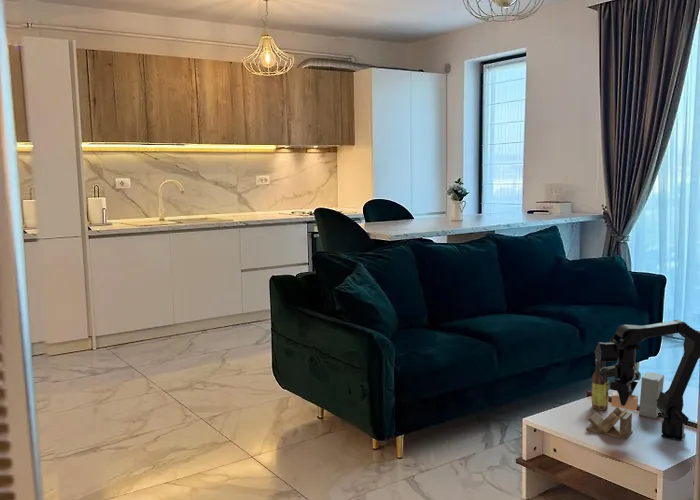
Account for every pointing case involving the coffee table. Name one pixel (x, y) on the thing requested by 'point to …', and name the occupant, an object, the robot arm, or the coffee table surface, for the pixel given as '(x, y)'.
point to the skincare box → (650, 394)
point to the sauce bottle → (599, 388)
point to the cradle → (612, 424)
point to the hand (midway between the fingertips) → (624, 403)
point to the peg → (630, 404)
